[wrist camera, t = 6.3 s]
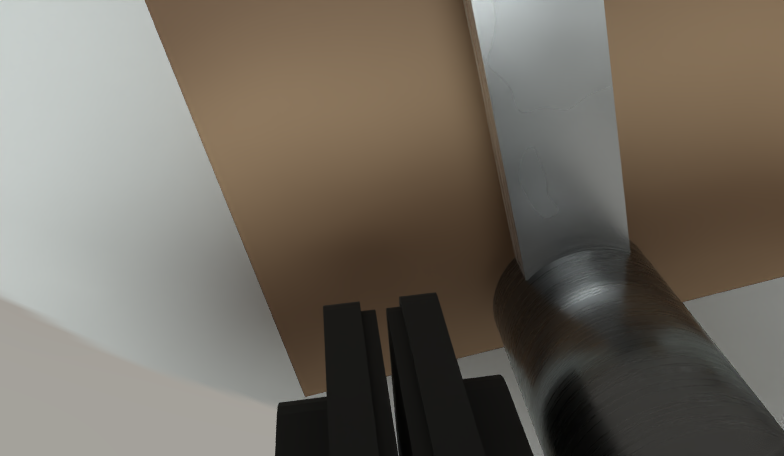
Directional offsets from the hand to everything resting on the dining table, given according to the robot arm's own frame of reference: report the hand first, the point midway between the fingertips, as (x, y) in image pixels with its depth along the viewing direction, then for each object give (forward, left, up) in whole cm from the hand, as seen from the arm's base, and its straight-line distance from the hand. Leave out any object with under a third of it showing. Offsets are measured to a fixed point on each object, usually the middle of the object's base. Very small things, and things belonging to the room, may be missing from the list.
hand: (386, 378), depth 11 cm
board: (+5, -4, -5) cm, 8 cm away
